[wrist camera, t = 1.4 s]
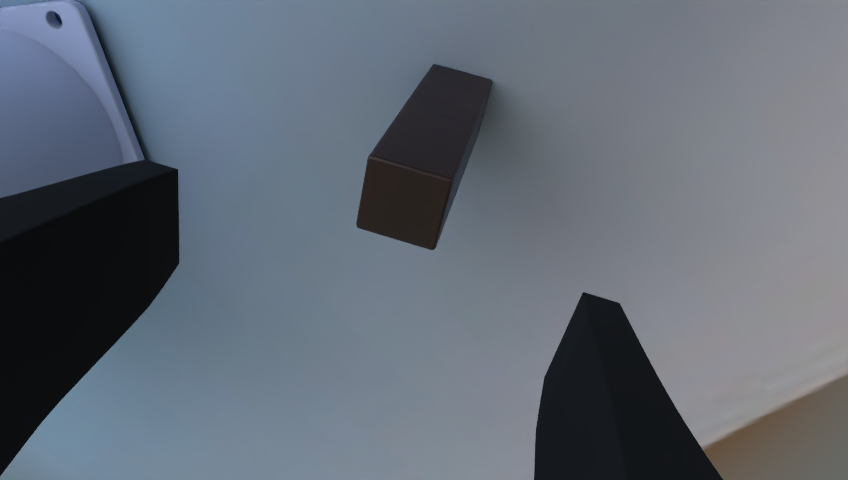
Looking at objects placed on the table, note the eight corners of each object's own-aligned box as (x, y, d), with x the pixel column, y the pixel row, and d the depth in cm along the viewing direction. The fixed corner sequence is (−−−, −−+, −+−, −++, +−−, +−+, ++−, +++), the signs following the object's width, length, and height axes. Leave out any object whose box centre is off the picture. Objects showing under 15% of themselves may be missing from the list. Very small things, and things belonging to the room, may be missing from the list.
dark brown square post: (420, 120, 19) (354, 228, 14) (433, 62, 18) (367, 155, 13) (477, 136, 19) (434, 252, 14) (493, 79, 18) (453, 180, 13)
